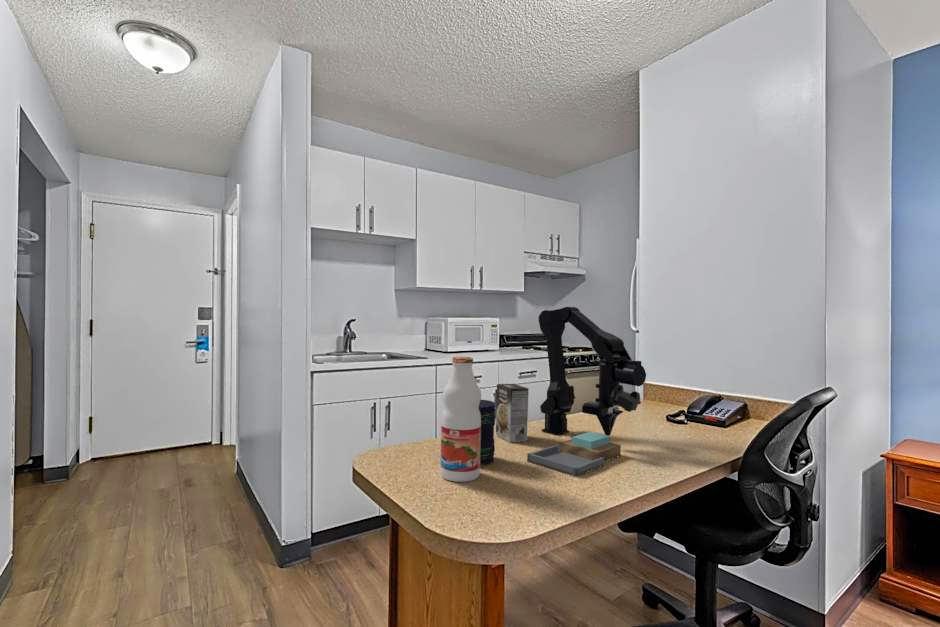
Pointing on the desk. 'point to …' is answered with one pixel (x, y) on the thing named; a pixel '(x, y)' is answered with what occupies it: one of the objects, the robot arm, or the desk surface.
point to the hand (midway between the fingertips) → (607, 435)
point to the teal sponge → (590, 440)
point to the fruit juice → (461, 424)
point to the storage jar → (487, 431)
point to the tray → (563, 461)
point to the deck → (592, 450)
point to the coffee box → (512, 412)
